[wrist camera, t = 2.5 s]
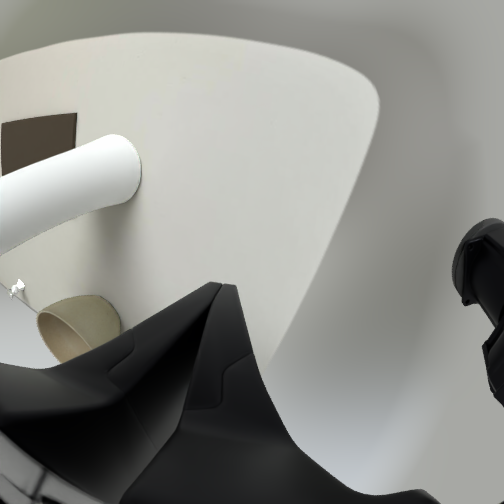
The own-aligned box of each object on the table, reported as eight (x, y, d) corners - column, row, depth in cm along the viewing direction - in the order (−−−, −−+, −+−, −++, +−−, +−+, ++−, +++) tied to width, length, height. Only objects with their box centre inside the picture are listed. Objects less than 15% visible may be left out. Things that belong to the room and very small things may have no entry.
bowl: (153, 325, 27) (119, 373, 21) (119, 354, 31) (91, 392, 25) (87, 258, 25) (41, 294, 19) (65, 301, 29) (31, 333, 23)
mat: (77, 112, 18) (74, 113, 18) (76, 214, 23) (74, 216, 22) (3, 123, 20) (1, 123, 19) (6, 196, 24) (3, 197, 24)
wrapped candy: (18, 283, 31) (6, 293, 29) (19, 279, 31) (6, 288, 28) (23, 290, 32) (12, 300, 29) (24, 285, 31) (12, 295, 28)
